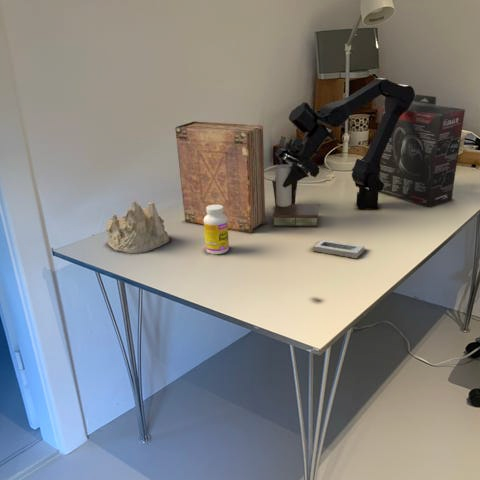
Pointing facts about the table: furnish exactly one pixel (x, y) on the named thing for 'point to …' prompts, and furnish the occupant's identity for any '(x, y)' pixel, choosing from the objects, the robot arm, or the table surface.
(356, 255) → the picture frame
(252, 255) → the table surface
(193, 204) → the book
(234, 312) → the table surface
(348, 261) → the table surface
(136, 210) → the beige rock formation
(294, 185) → the coffee mug
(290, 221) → the dark wooden slab
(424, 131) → the headset box
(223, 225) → the supplement bottle
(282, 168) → the beverage can
